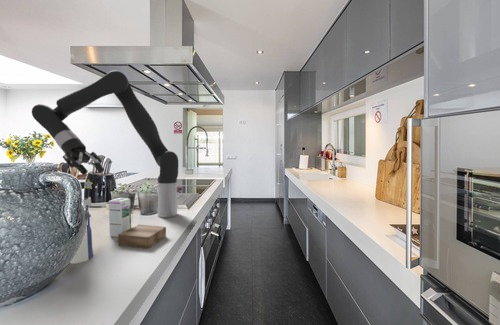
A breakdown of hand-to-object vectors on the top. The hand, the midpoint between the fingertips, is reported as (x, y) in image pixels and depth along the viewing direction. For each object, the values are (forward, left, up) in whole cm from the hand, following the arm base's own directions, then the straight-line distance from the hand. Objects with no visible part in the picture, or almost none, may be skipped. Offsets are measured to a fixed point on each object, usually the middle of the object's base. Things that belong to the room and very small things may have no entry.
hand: (94, 172), depth 105 cm
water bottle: (+22, +14, -25) cm, 36 cm away
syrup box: (0, +12, -25) cm, 28 cm away
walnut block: (+4, +25, -25) cm, 35 cm away
